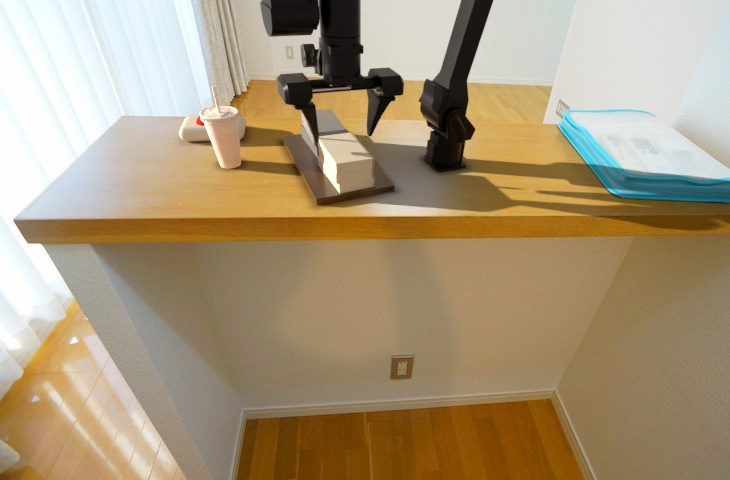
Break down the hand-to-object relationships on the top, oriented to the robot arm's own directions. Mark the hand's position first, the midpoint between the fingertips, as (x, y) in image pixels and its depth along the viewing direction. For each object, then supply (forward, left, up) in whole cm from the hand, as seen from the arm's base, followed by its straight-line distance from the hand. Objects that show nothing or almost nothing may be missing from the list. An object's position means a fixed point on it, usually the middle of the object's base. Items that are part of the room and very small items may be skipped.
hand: (343, 138), depth 69 cm
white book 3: (0, 0, -7) cm, 7 cm away
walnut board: (0, -7, -8) cm, 11 cm away
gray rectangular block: (0, -13, -7) cm, 15 cm away
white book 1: (0, 0, -3) cm, 3 cm away
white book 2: (0, 0, -5) cm, 5 cm away
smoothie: (+18, -13, -8) cm, 24 cm away
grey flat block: (0, -13, -4) cm, 14 cm away
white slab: (+19, -28, -8) cm, 35 cm away
